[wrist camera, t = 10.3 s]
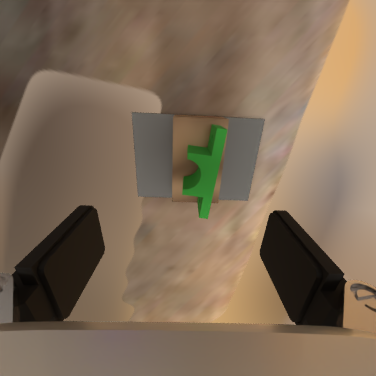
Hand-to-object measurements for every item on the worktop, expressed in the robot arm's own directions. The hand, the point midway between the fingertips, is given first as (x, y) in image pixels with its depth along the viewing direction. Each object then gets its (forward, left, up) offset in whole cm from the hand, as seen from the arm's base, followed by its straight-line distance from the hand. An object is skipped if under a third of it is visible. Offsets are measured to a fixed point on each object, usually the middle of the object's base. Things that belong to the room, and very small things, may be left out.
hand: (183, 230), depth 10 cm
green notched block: (+1, +2, -16) cm, 16 cm away
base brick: (+1, +2, -21) cm, 21 cm away
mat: (+2, +2, -21) cm, 22 cm away
